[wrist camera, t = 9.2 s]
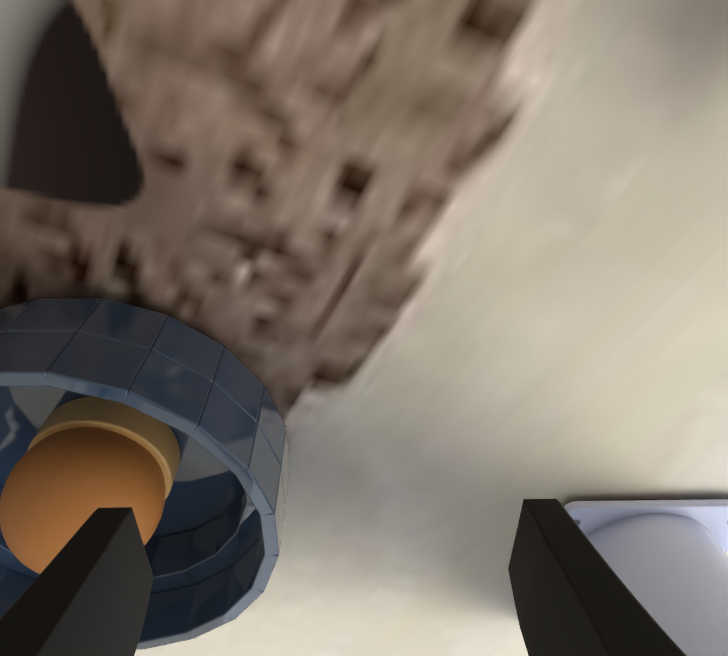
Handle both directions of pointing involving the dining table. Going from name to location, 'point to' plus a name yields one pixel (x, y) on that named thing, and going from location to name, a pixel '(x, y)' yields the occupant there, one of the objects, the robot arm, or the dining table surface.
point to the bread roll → (86, 476)
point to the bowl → (192, 430)
